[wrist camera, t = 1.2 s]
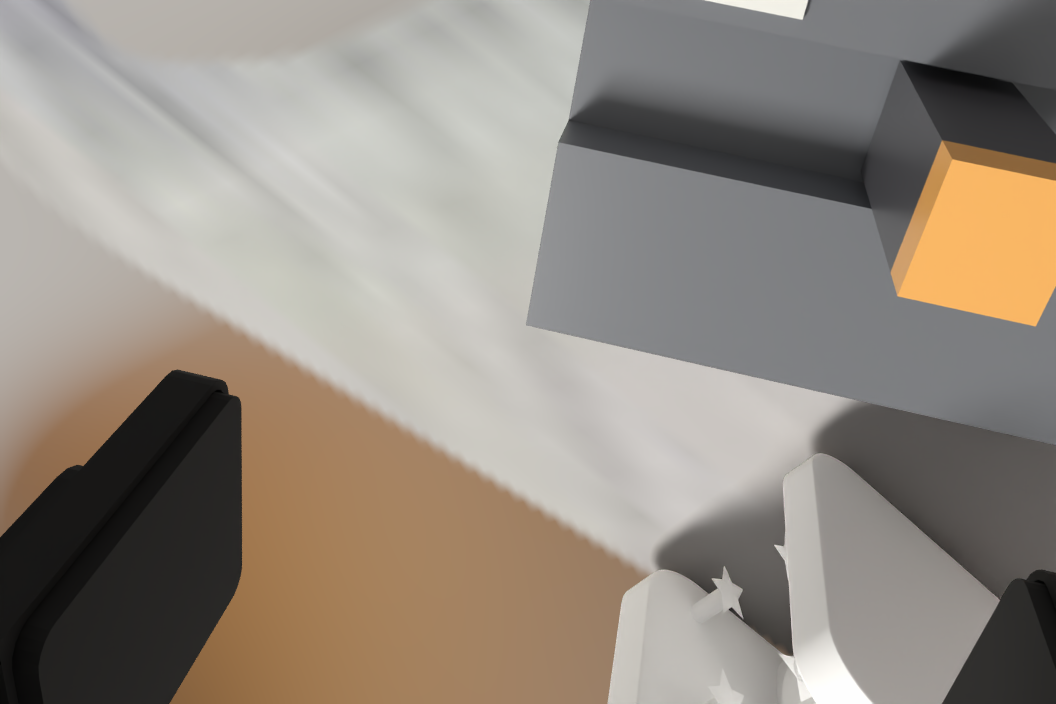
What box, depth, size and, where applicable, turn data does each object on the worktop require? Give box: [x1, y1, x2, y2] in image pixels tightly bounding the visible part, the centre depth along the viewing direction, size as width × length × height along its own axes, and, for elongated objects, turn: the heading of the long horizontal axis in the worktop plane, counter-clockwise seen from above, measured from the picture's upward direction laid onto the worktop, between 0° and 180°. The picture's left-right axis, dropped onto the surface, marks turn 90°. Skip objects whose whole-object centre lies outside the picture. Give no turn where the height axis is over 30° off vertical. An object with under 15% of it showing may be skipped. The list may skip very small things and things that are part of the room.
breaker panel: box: [526, 0, 1056, 445], centre depth 28 cm, size 20×16×4 cm
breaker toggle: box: [861, 60, 1056, 326], centre depth 24 cm, size 3×3×8 cm
